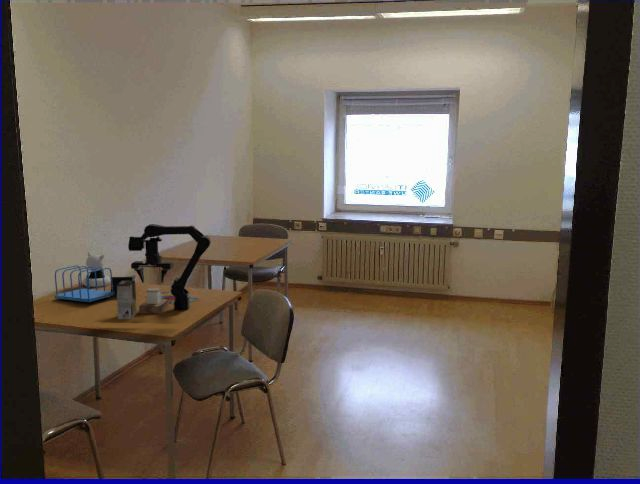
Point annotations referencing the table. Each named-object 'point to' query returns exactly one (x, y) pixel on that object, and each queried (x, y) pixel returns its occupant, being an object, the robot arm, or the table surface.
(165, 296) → the relief map
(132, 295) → the coffee box
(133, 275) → the digital clock
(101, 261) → the decorative figurine
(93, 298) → the file sorter
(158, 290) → the cream capped cube
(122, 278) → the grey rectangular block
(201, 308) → the table surface
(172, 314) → the table surface
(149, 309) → the walnut block
